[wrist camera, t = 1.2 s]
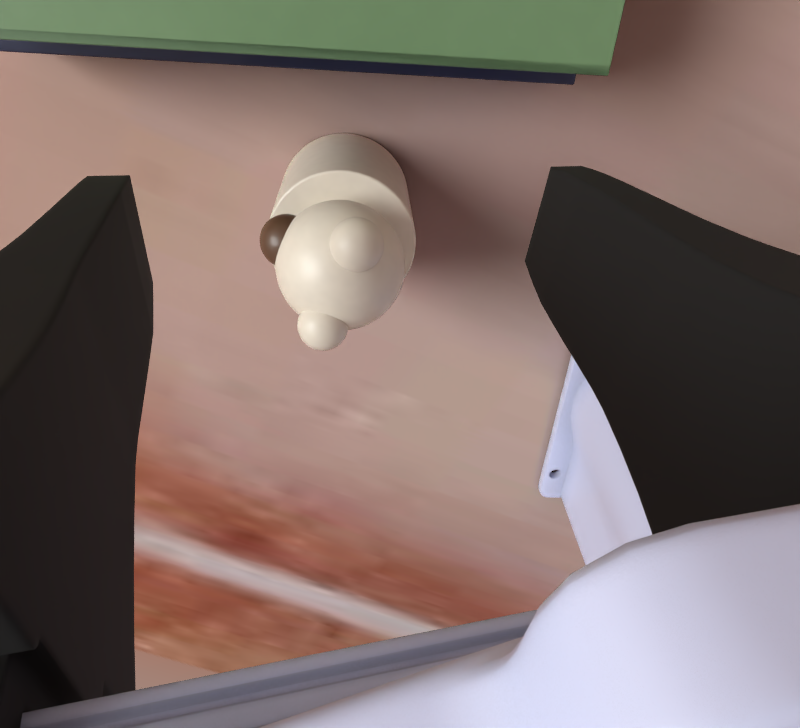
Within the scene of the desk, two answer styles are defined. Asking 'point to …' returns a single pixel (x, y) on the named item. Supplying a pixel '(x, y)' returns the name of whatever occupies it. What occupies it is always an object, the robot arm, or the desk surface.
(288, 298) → the toy bear
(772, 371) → the robot arm
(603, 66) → the book stack
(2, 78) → the desk surface
